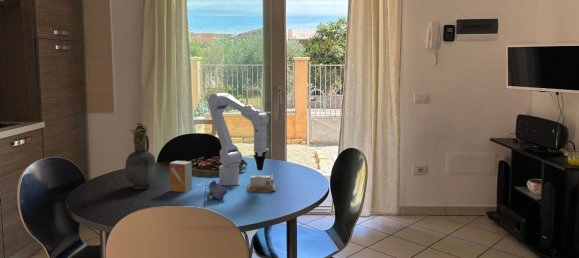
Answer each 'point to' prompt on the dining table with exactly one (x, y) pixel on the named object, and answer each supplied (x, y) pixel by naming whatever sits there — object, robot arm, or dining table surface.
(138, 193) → the dining table surface
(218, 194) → the flower
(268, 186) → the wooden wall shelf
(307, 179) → the dining table surface
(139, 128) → the pitcher
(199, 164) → the food dish
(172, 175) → the small box
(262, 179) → the gray rectangular block
